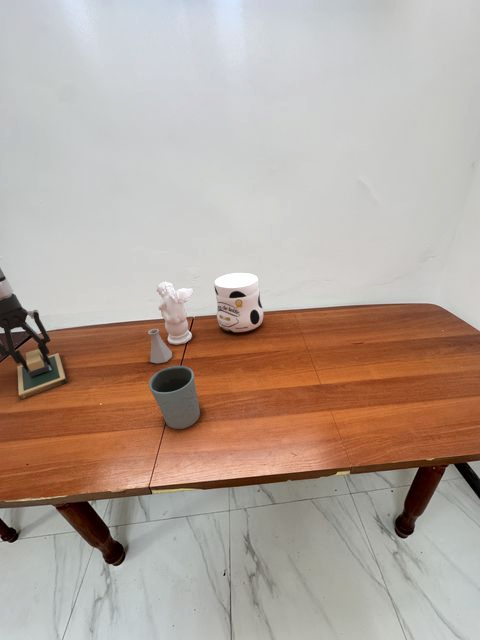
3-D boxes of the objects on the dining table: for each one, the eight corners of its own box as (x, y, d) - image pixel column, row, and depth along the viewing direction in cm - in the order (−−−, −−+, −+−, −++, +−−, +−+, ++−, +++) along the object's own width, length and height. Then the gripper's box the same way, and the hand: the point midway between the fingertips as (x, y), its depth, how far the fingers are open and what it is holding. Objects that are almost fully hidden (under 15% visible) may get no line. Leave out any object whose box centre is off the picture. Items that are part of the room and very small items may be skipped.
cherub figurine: (167, 333, 110) (152, 276, 98) (201, 327, 112) (189, 271, 100) (168, 350, 100) (150, 289, 88) (204, 343, 102) (192, 282, 90)
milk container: (215, 338, 105) (207, 290, 95) (221, 316, 119) (215, 273, 110) (264, 335, 104) (260, 287, 94) (264, 314, 119) (261, 270, 109)
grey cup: (183, 437, 68) (171, 398, 61) (152, 422, 72) (138, 385, 66) (210, 409, 75) (202, 371, 68) (181, 397, 79) (170, 361, 73)
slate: (20, 370, 95) (17, 366, 94) (60, 357, 101) (58, 352, 100) (21, 399, 83) (18, 395, 82) (67, 382, 88) (65, 377, 87)
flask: (175, 351, 99) (168, 325, 94) (167, 364, 93) (160, 337, 88) (155, 351, 100) (147, 325, 94) (146, 364, 94) (137, 337, 88)
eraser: (28, 363, 94) (22, 352, 92) (46, 357, 97) (41, 347, 94) (30, 377, 88) (23, 366, 86) (49, 370, 91) (43, 360, 88)
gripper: (-47, 311, 73) (3, 384, 86) (37, 291, 81) (72, 360, 94) (-44, 302, 78) (4, 372, 91) (35, 284, 87) (68, 351, 99)
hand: (38, 366), depth 92 cm, fingers closed on eraser, 5 cm apart
